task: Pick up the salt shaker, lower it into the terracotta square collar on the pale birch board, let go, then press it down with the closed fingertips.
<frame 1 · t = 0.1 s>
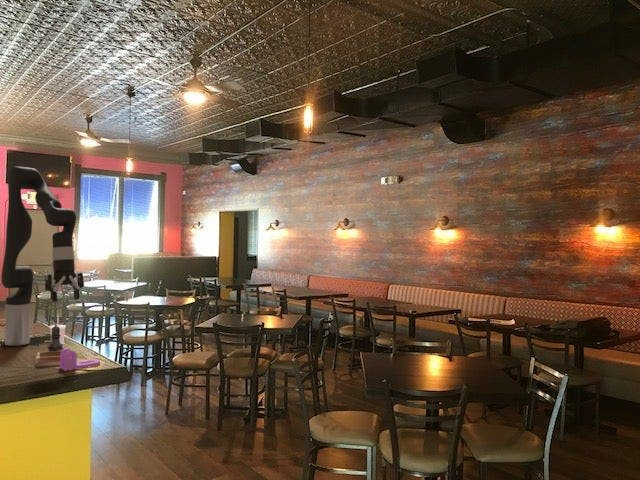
hand: (65, 300, 199), 22 cm above the countertop, tool pointing down, fingers open, 8 cm apart
salt shaker: (55, 354, 203), on the countertop
beverage cup: (57, 347, 214), on the countertop
bracket: (81, 367, 188), on the countertop
shaker holder: (51, 362, 192), on the countertop
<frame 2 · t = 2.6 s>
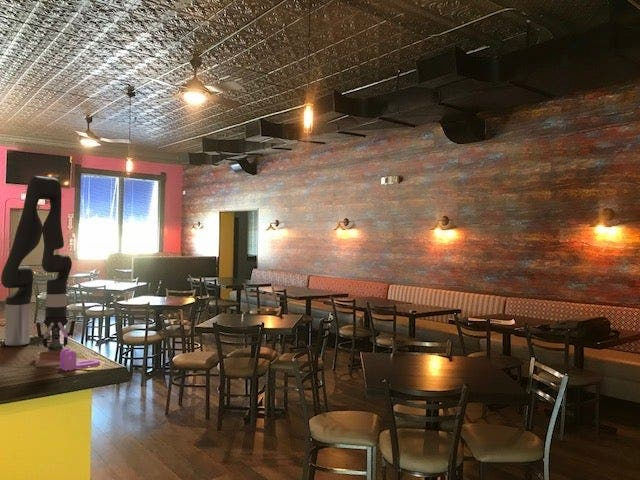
hand: (55, 346, 203), 3 cm above the countertop, tool pointing down, fingers closed on salt shaker, 6 cm apart
salt shaker: (55, 354, 203), on the countertop, touching gripper
everything else where it was.
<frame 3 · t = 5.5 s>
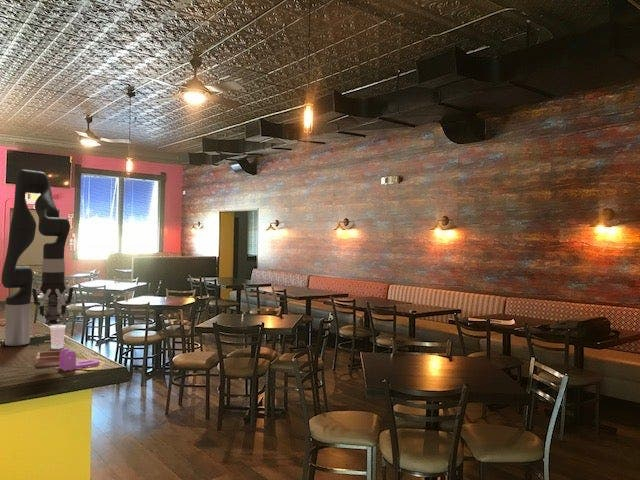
hand: (52, 315, 192), 18 cm above the countertop, tool pointing down, fingers closed on salt shaker, 6 cm apart
salt shaker: (52, 323, 192), point 14 cm above the countertop, touching gripper
everything else where it was.
when the fingers open (5 cm above the countertop, at t = 8.4 s): salt shaker stays where it is, resting on shaker holder.
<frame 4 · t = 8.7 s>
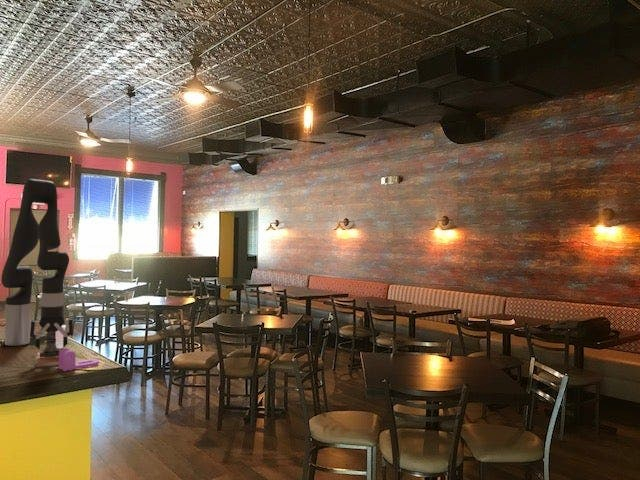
hand: (51, 347, 192), 5 cm above the countertop, tool pointing down, fingers open, 8 cm apart
salt shaker: (51, 359, 192), point 1 cm above the countertop, touching shaker holder
everything else where it was.
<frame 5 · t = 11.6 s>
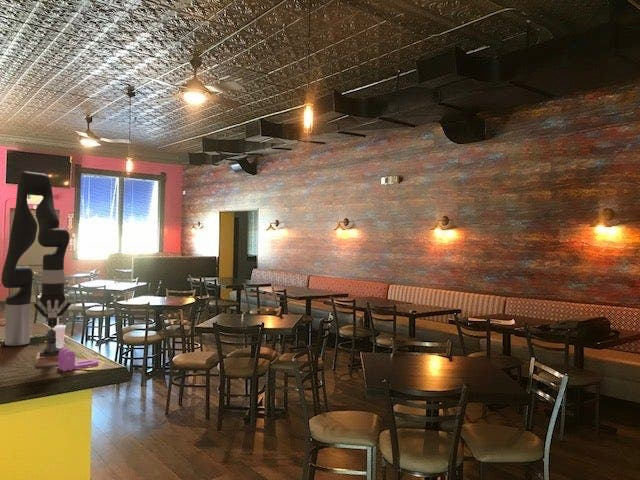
hand: (52, 327, 192), 13 cm above the countertop, tool pointing down, fingers closed
salt shaker: (51, 359, 192), point 1 cm above the countertop, touching gripper, shaker holder
everything else where it was.
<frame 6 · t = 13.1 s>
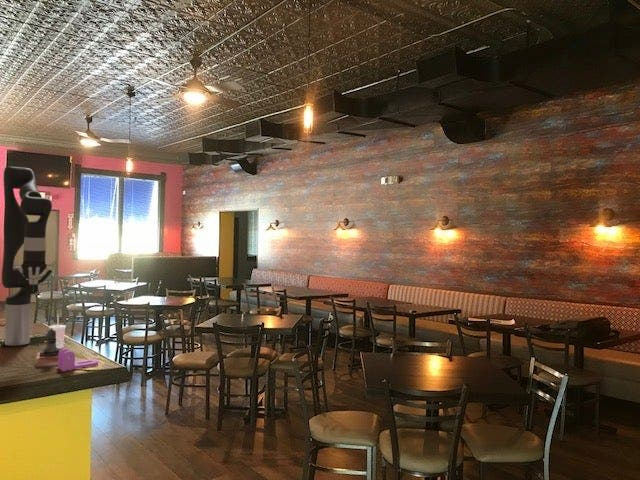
hand: (33, 293, 198), 25 cm above the countertop, tool pointing down, fingers closed
salt shaker: (51, 359, 192), point 1 cm above the countertop, touching shaker holder
everything else where it was.
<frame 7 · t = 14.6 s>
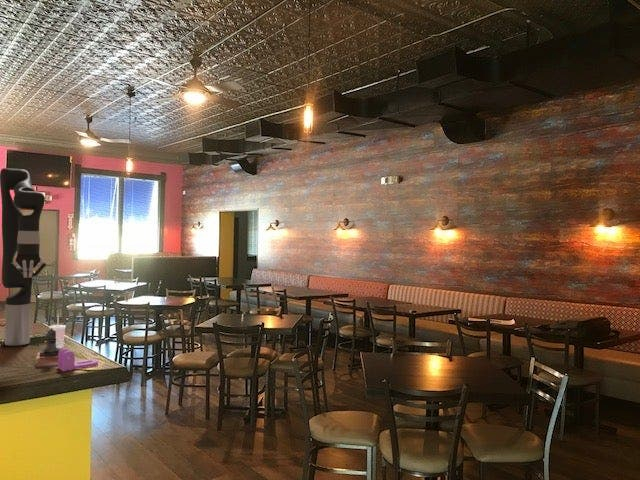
hand: (27, 286, 199), 27 cm above the countertop, tool pointing down, fingers closed
nothing on the countertop moved.
at the end: salt shaker 0.1 cm from the shaker holder (horizontally); salt shaker point 0.8 cm above the countertop; salt shaker tilted 0° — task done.
